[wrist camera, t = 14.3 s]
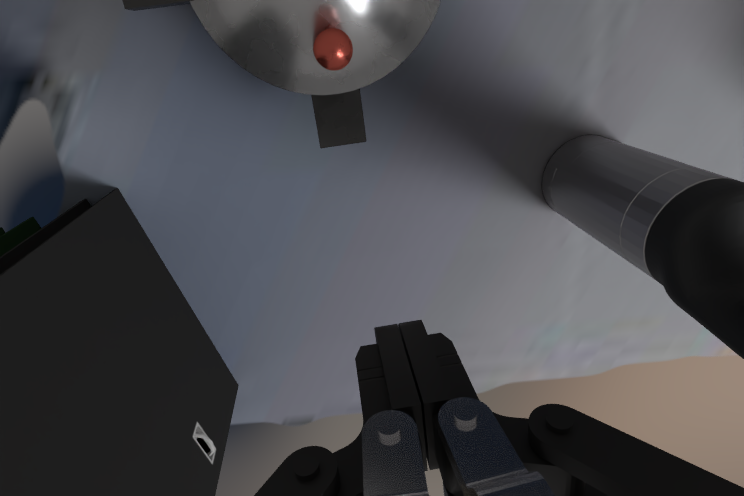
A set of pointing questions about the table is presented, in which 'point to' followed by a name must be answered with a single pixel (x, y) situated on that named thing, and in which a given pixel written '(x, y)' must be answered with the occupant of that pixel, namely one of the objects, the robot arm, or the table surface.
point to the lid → (312, 38)
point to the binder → (104, 364)
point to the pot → (339, 118)
